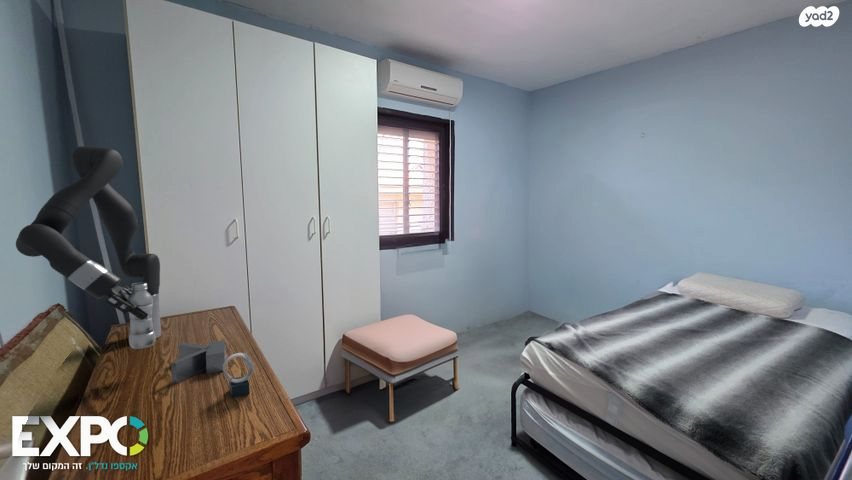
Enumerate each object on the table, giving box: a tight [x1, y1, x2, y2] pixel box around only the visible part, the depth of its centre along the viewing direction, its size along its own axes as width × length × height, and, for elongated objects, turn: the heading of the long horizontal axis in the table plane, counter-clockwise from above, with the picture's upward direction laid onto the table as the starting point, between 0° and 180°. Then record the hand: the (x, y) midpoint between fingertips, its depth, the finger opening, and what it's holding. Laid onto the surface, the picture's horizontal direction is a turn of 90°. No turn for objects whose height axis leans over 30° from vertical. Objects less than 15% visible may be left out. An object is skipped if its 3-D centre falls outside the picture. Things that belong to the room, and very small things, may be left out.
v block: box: [170, 339, 227, 384], centre depth 117 cm, size 18×14×6 cm
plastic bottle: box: [128, 281, 157, 350], centre depth 111 cm, size 6×7×20 cm
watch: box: [222, 352, 256, 399], centre depth 102 cm, size 6×8×11 cm
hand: (147, 314), depth 111 cm, fingers closed on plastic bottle, 6 cm apart
